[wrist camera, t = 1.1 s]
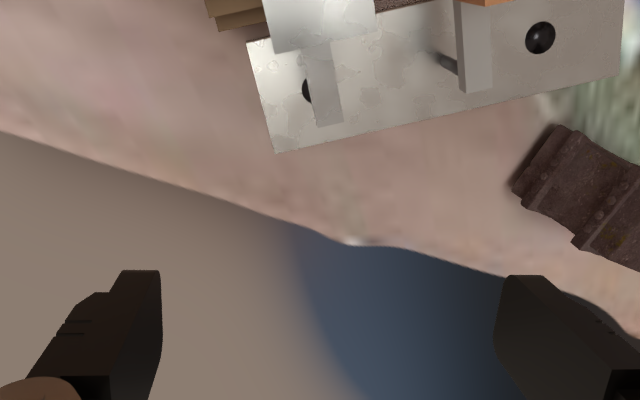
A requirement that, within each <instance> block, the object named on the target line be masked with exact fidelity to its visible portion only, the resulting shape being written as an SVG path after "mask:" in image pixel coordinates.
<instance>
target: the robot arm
mask: <svg viewBox="0 0 640 400" xmlns="http://www.w3.org/2000/svg"><path fill="white" fill-rule="evenodd" d="M162 342H163V326H162V300H161V279H160V273H159V271H158V270H123V271H122V272H121V273H120V275H119V276H118V278H117V280H116V281H115V283H114V285H113V286H112V288H111V290H110V292H103V293H102V292H95V293H93V294H92V295H90V296H89V297H87V298H86V299H84V300H83V301H81V302H80V303H78V304H77V305H76V306H75V307H74V308H73V310H72V311H71V313H70V314H69V315H68V317H67V318H66V320H65V324H62V326H61V327H60V329H59V330H58V331H57V333H56V337H53V339H52V340H51V342H50V343H49V345H48V346H47V348H46V349H45V350H44V352H43V353H42V355H41V356H40V358H39V359H38V361H37V362H36V364H35V365H34V366H33V368H32V369H31V371H30V372H29V374H28V375H27V377H26V378H25V379H23V380H19V381H16V382H13V383H10V384H8V385H5V386H3V387H1V388H0V400H148V397H149V394H150V390H151V387H152V384H153V381H154V378H155V375H156V371H157V368H158V365H159V362H160V358H161V352H162ZM493 344H494V349H495V353H496V355H497V357H498V359H499V361H500V362H501V364H502V365H503V366H504V368H505V369H506V370H507V372H508V373H509V375H510V376H511V377H512V379H513V380H514V382H515V383H516V384H517V386H518V387H519V389H520V390H521V391H522V393H523V394H524V396H525V397H526V398H527V400H640V353H639V352H638V351H637V350H636V349H635V348H633V347H632V346H631V345H630V344H629V343H628V342H626V341H625V340H624V339H623V338H622V337H620V336H619V335H615V331H613V330H612V329H611V328H610V327H609V326H608V325H606V324H604V323H602V320H601V319H599V318H598V317H597V316H596V315H595V314H594V313H592V312H591V311H590V310H589V309H587V307H585V306H583V305H581V304H579V303H577V302H575V301H574V300H572V299H570V298H568V297H567V296H566V295H564V293H562V292H561V291H560V290H559V289H558V288H557V287H556V286H554V285H553V284H552V283H551V282H550V281H549V280H547V279H546V278H545V277H544V276H541V275H509V276H508V277H507V278H506V279H505V281H504V283H503V288H502V292H501V297H500V303H499V307H498V312H497V317H496V321H495V326H494V331H493Z"/></svg>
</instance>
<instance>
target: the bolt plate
mask: <svg viewBox="0 0 640 400" xmlns="http://www.w3.org/2000/svg"><path fill="white" fill-rule="evenodd" d="M623 13H624V0H513V1H509V2H504V3H500V4H496V5H491V6H490V28H491V54H492V80H493V88H490V89H486V90H481V91H477V92H473V93H468V94H466V93H464V92H463V91H461V90H460V89H459V81H458V76H457V75H455V74H454V73H452V72H450V71H448V70H447V69H445V68H443V67H442V66H441V65H440V59H441V58H442V57H443V56H449V57H451V58H453V59H455V60H457V53H456V38H455V24H454V10H453V0H425V1H421V2H416V3H412V4H407V5H403V6H399V7H394V8H390V9H385V10H381V11H377V12H375V14H376V21H377V28H378V31H377V32H373V33H368V34H364V35H359V36H355V37H351V38H346V39H342V40H338V41H333V42H330V47H331V53H332V58H333V63H334V69H335V74H336V80H337V85H338V90H339V96H340V101H341V107H342V112H343V118H344V122H342V123H338V124H333V125H329V126H325V127H320V128H318V127H317V124H316V121H315V117H314V112H313V107H312V102H311V98H310V93H309V88H308V84H307V79H306V74H305V69H304V65H303V60H302V55H301V51H300V49H298V50H294V51H289V52H285V53H280V54H276V55H275V54H274V49H273V45H272V41H271V37H270V36H267V37H262V38H258V39H253V40H249V41H246V45H247V49H248V53H249V57H250V61H251V64H252V68H253V72H254V76H255V80H256V84H257V88H258V91H259V95H260V99H261V103H262V107H263V111H264V114H265V118H266V122H267V126H268V130H269V134H270V138H271V141H272V145H273V149H274V153H275V154H278V153H283V152H287V151H291V150H296V149H300V148H304V147H309V146H313V145H318V144H322V143H326V142H331V141H335V140H339V139H344V138H348V137H352V136H357V135H361V134H365V133H370V132H374V131H378V130H383V129H387V128H391V127H396V126H400V125H404V124H409V123H413V122H417V121H422V120H426V119H430V118H435V117H439V116H443V115H448V114H452V113H456V112H461V111H465V110H470V109H474V108H478V107H483V106H487V105H491V104H496V103H500V102H504V101H509V100H513V99H517V98H522V97H526V96H530V95H535V94H539V93H543V92H548V91H552V90H556V89H561V88H565V87H569V86H574V85H578V84H582V83H587V82H591V81H595V80H600V79H604V78H608V77H613V76H617V75H619V64H620V51H621V38H622V25H623Z"/></svg>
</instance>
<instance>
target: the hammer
mask: <svg viewBox="0 0 640 400" xmlns="http://www.w3.org/2000/svg"><path fill="white" fill-rule="evenodd" d="M512 192H513V193H514V194H516V195H517V196H519V197H520V198H521V199H522V201H521V205H522V206H523V207H525V208H526V209H528V210H532V211H536V212H539V213H541V214H543V215H546V216H548V217H550V218H552V219H554V220H555V221H557V222H558V223H560V224H561V225H563V226H564V227H566V228H567V229H569V230H570V231H571V232H572V233H573V234H575V236H574V237H573V239H572V240H571V243H572V244H573V245H574V246H575V247H576V248H578V249H579V250H581V251H588V252H591V253H593V254H596V255H600V256H603V257H605V258H606V259H608V260H610V261H613V262H616V263H618V264H620V265H623V266H625V267H628V268H630V269H633V270H635V271H638V272H640V166H638V165H636V164H633V163H630V162H628V161H626V160H624V159H622V158H620V157H618V156H616V155H615V154H613V153H610V152H609V151H607V150H605V149H604V148H602V147H600V146H599V145H597V144H596V143H594V142H592V141H591V140H590V139H589V138H588V137H587V136H585V135H584V134H583V133H581V132H579V131H577V130H575V131H574V132H573V131H571V130H569V129H568V128H566V127H564V126H563V125H561V124H559V125H557V127H556V128H555V129H554V131H553V132H552V134H551V135H550V136H549V138H548V139H547V140H546V142H545V143H544V144H543V146H542V147H541V149H540V150H539V151H538V153H537V154H536V155H535V157H534V158H533V159H532V161H531V163H530V166H529V167H527V168H526V169H525V170H524V172H523V173H522V174H521V176H520V177H519V178H518V180H517V181H516V183H515V184H514V186H513V187H512Z"/></svg>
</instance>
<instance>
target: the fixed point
mask: <svg viewBox="0 0 640 400" xmlns="http://www.w3.org/2000/svg"><path fill="white" fill-rule="evenodd" d="M262 3H263V7H264V11H265V16H266V20H267V24H268V28H269V32H270V37H271V41H272V45H273V49H274V54H275V55H276V54H280V53H285V52H289V51H294V50H298V49H300V51H301V55H302V60H303V65H304V69H305V74H306V79H307V84H308V88H309V93H310V98H311V102H312V107H313V112H314V117H315V121H316V124H317V127H318V128H320V127H325V126H329V125H333V124H338V123H342V122H344V118H343V112H342V107H341V101H340V96H339V90H338V85H337V80H336V74H335V69H334V63H333V58H332V53H331V47H330V42H333V41H338V40H342V39H346V38H351V37H355V36H359V35H364V34H368V33H373V32H377V31H378V28H377V21H376V14H375V7H374V0H262Z"/></svg>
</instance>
